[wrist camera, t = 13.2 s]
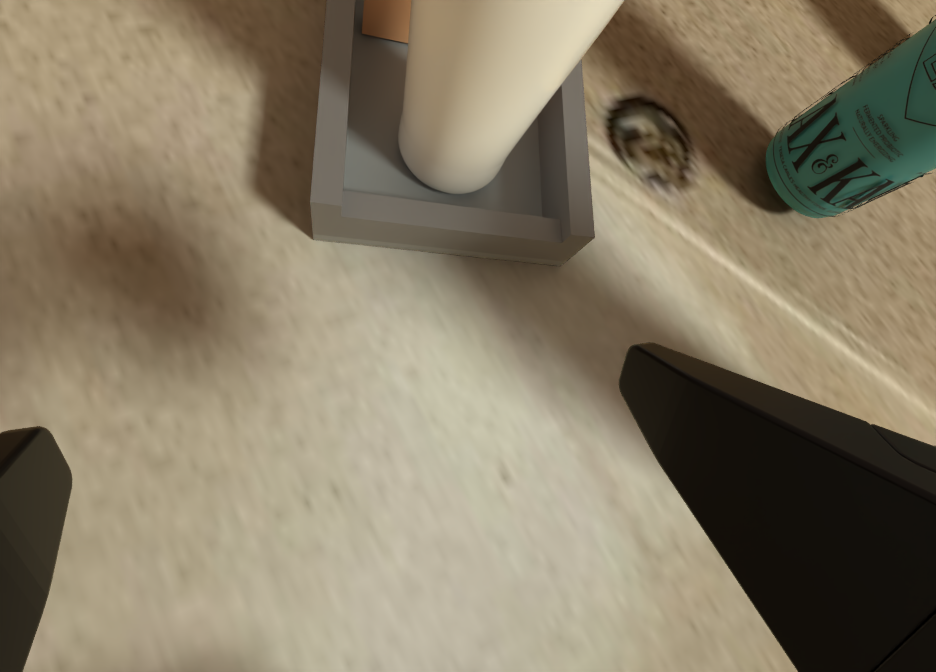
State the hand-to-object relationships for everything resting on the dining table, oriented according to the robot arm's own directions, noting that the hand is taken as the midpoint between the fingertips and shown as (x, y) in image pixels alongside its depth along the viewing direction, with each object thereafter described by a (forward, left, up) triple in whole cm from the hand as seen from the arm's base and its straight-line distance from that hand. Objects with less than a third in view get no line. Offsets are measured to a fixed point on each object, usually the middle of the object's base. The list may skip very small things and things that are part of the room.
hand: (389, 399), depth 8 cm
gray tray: (+6, -17, -14) cm, 23 cm away
